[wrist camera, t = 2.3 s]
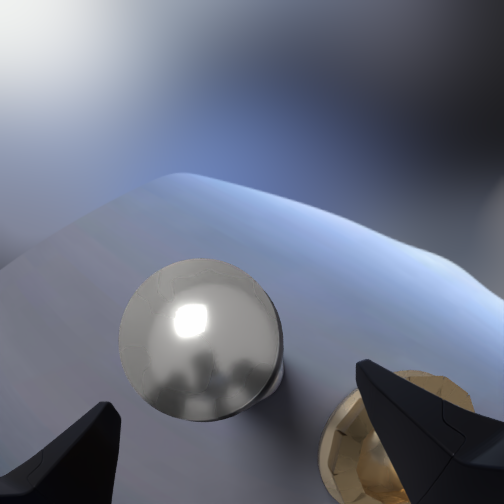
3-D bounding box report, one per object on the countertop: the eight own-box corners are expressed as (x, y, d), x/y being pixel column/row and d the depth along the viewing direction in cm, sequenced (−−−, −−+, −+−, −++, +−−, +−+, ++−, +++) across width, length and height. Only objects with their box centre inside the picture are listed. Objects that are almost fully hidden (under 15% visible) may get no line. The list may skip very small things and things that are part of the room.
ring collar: (466, 457, 11) (494, 462, 8) (342, 528, 11) (352, 551, 7) (428, 346, 16) (454, 334, 13) (295, 412, 16) (297, 418, 12)
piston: (295, 389, 16) (310, 391, 6) (227, 411, 16) (137, 437, 6) (270, 326, 19) (247, 232, 8) (207, 348, 18) (107, 285, 8)
